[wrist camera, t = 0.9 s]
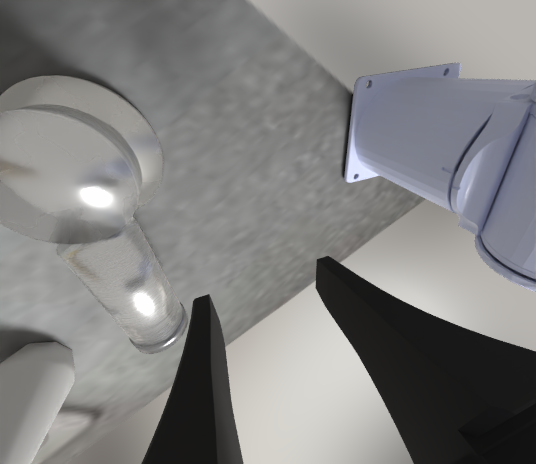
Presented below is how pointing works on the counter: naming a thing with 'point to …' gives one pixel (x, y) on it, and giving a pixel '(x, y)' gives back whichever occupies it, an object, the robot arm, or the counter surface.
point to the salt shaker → (32, 397)
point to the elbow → (87, 214)
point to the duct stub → (102, 107)
